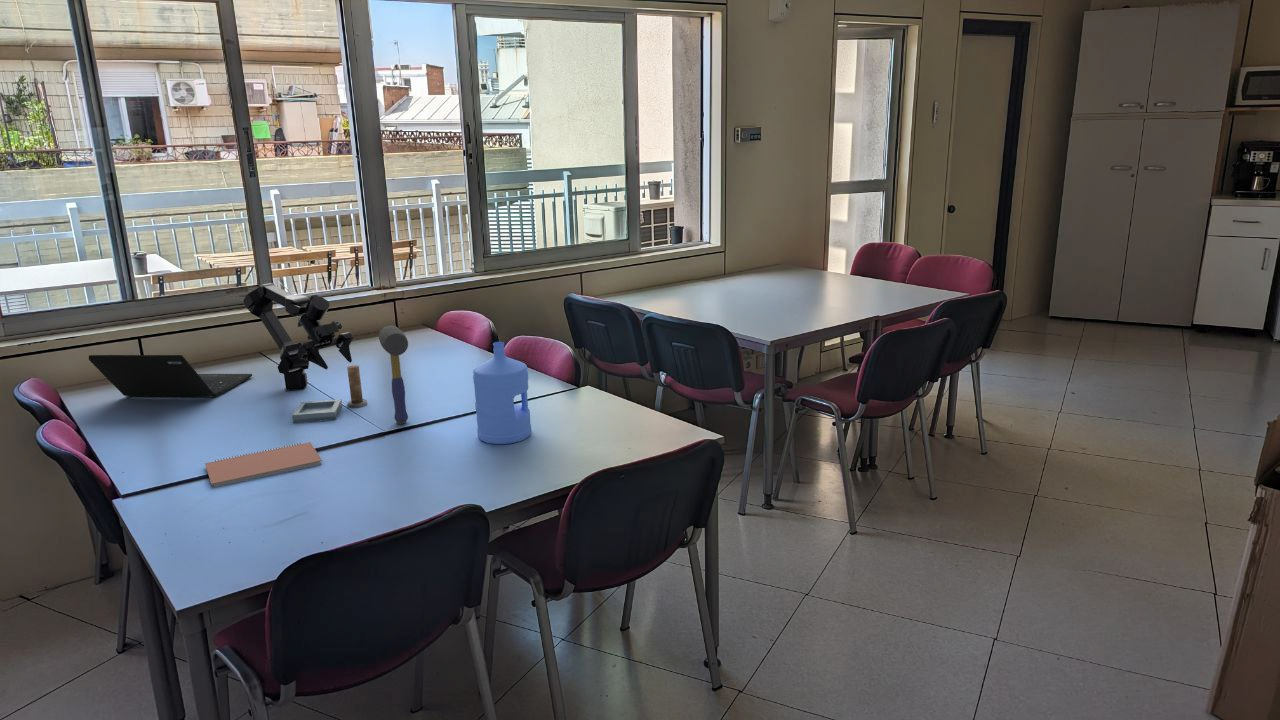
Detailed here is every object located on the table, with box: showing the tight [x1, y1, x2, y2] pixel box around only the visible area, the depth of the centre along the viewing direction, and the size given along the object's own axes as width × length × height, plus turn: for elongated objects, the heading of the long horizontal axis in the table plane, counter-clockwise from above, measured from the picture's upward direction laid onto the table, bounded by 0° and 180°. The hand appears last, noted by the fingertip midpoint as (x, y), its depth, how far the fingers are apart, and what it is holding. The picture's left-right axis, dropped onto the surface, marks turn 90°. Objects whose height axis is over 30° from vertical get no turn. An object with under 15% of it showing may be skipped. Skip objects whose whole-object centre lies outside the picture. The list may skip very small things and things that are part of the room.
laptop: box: [88, 354, 253, 398], centre depth 289 cm, size 33×38×19 cm
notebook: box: [204, 441, 323, 488], centre depth 228 cm, size 27×17×2 cm, turn 122°
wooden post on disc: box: [346, 364, 368, 409], centre depth 274 cm, size 6×6×13 cm
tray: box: [292, 398, 343, 424], centre depth 267 cm, size 13×13×2 cm
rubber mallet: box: [378, 324, 409, 425], centre depth 254 cm, size 12×8×30 cm, turn 25°
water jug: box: [472, 341, 532, 445], centre depth 242 cm, size 16×16×28 cm
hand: (339, 365), depth 276 cm, fingers open, 9 cm apart
